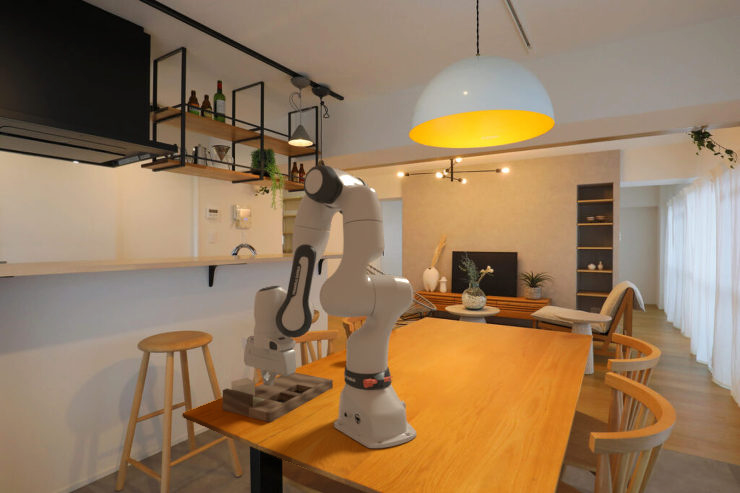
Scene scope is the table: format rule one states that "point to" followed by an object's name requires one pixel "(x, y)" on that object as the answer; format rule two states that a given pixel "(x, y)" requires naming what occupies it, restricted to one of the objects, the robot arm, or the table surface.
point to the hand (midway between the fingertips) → (268, 384)
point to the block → (244, 386)
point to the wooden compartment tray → (276, 396)
